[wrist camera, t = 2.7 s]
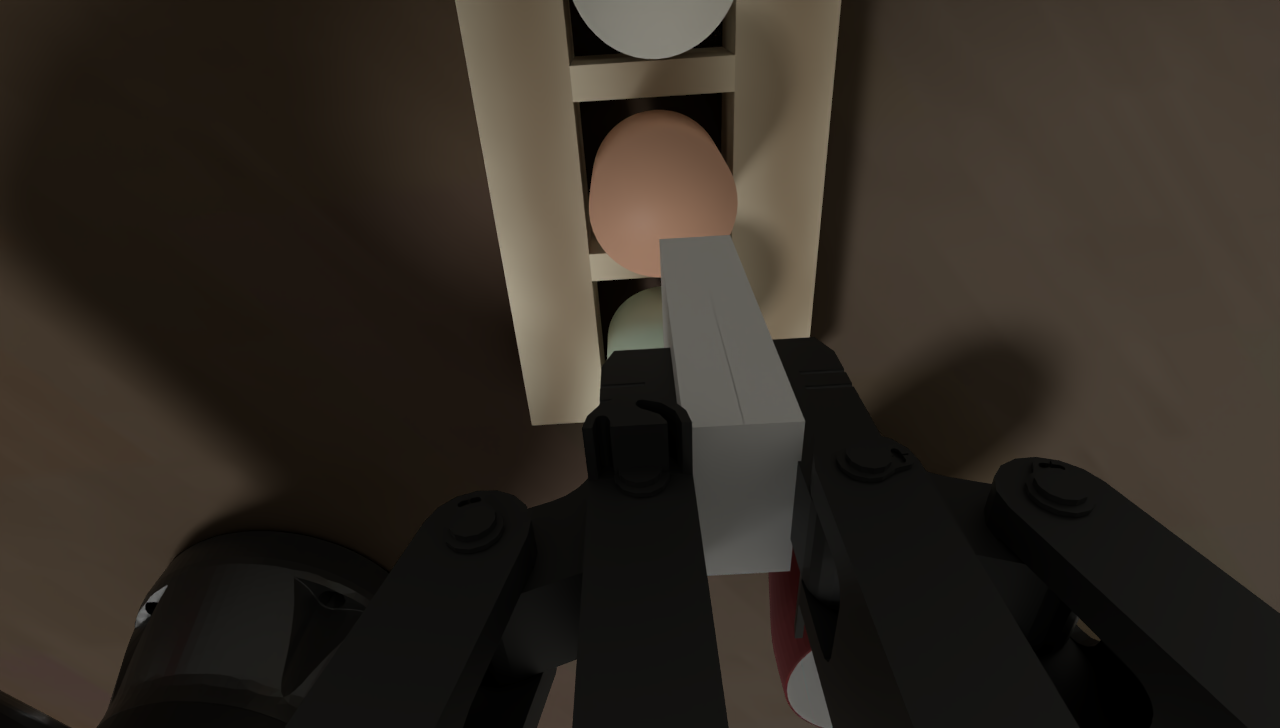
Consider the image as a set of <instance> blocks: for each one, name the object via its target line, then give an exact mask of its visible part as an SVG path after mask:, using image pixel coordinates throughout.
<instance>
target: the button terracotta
mask: <svg viewBox="0 0 1280 728" xmlns="http://www.w3.org/2000/svg"><path fill="white" fill-rule="evenodd" d="M737 206H738V200H737V190H736V185H735V182H734V178H733V175H732V173H731V171H730V169H729V167H728V165H727V164H726V162H725V160H724V159H723V157H722V155H721V153H720V152H719V150H718V148H717V147H716V145H715V143H714V141H713V140H712V138H711V137H710V135H709V134H708V133H707V132H706V131H705V129H704V128H703V127H702V126H700V125H699V124H698V123H697V122H696V121H694V120H692V119H691V118H689V117H687V116H685V115H683V114H681V113H677V112H674V111H669V110H648V111H643V112H640V113H636V114H634V115H632V116H630V117H628V118H626V119H624V120H623V121H621V122H620V123H619V124H617V125H616V126H615V127H614V128H613V129H612V130H611V131H610V132H609V133H608V134H607V136H606V137H605V138H604V140H603V141H602V143H601V145H600V147H599V149H598V151H597V154H596V157H595V161H594V165H593V173H592V180H591V188H590V196H589V216H590V222H591V226H592V229H593V232H594V234H595V236H596V239H597V241H598V242H599V244H600V245H601V247H602V248H603V250H604V251H605V252H606V253H607V254H608V256H610V257H611V258H612V259H613V260H614V261H615V262H616V263H618V264H619V265H621V266H622V267H624V268H626V269H628V270H629V271H632V272H634V273H637V274H640V275H644V276H648V277H661V267H660V243H659V239H670V238H687V237H704V236H720V235H730V234H731V232H732V229H733V226H734V223H735V219H736V215H737Z"/></svg>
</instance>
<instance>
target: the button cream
mask: <svg viewBox="0 0 1280 728" xmlns="http://www.w3.org/2000/svg"><path fill="white" fill-rule="evenodd" d="M573 2H574V4H575V6H576V8H577V10H578V12H579V14H580V16H581V17H582V19H583V20H584V21H585V23H586V24H587V26H588V27H589V28H590V29H591V30H592V31H593V32H594V34H595V35H596V36H597V37H599V38H600V39H601V40H602V41H603V42H605V43H606V44H607V45H609V46H611V47H612V48H614V49H615V50H617V51H620V52H622V53H624V54H627V55H630V56H633V57H637V58H644V59H661V58H668V57H672V56H675V55H679V54H681V53H683V52H686V51H688V50H690V49H692V48H693V47H695V46H696V45H698V44H700V43H701V42H702V41H703V40H704V39H706V38H707V37H708V36H709V35H710V34H711V33H712V32H713V31H714V30H715V29H716V28H717V27H718V25H719V24H720V22H721V21H722V20H723V18H724V17H725V15H726V14H727V12H728V10H729V8H730V7H731V4H732V2H733V0H573Z"/></svg>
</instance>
